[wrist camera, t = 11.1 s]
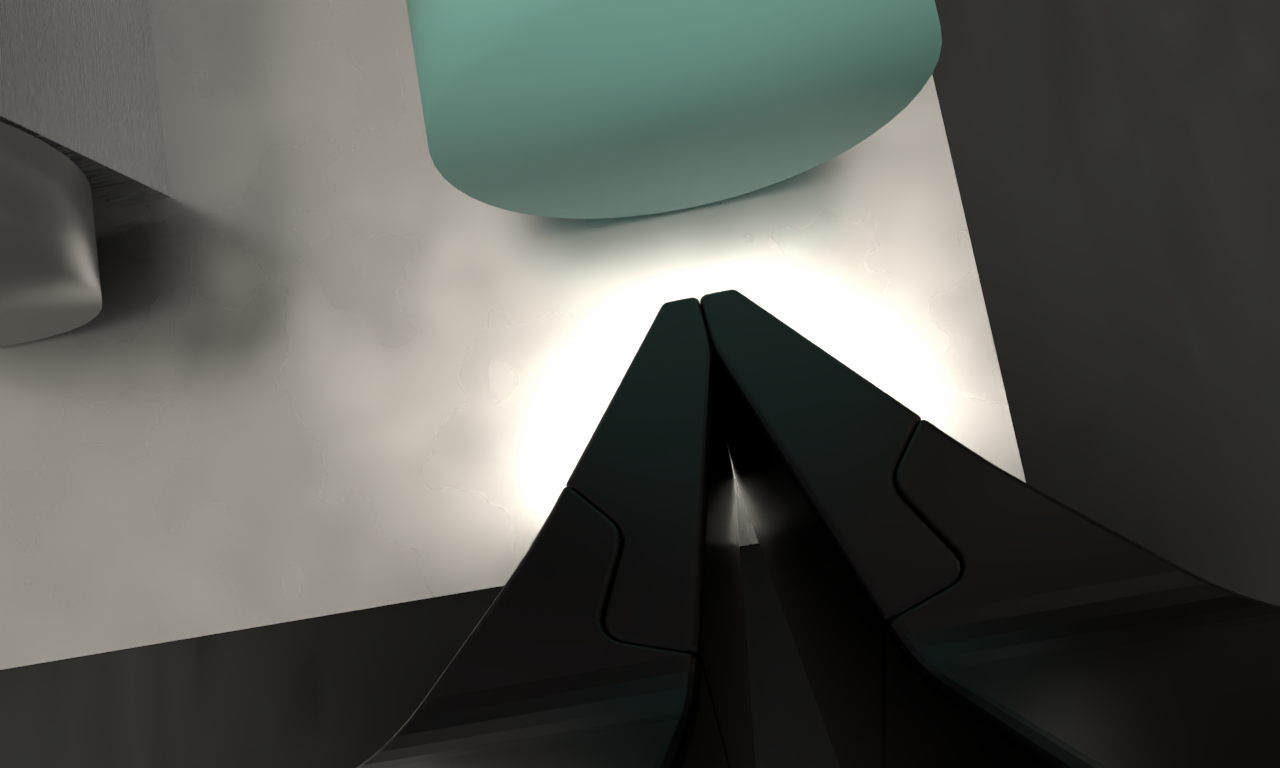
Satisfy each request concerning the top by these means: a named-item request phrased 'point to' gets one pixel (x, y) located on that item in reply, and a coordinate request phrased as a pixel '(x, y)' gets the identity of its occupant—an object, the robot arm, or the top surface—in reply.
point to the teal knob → (657, 95)
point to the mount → (381, 323)
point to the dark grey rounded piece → (44, 241)
